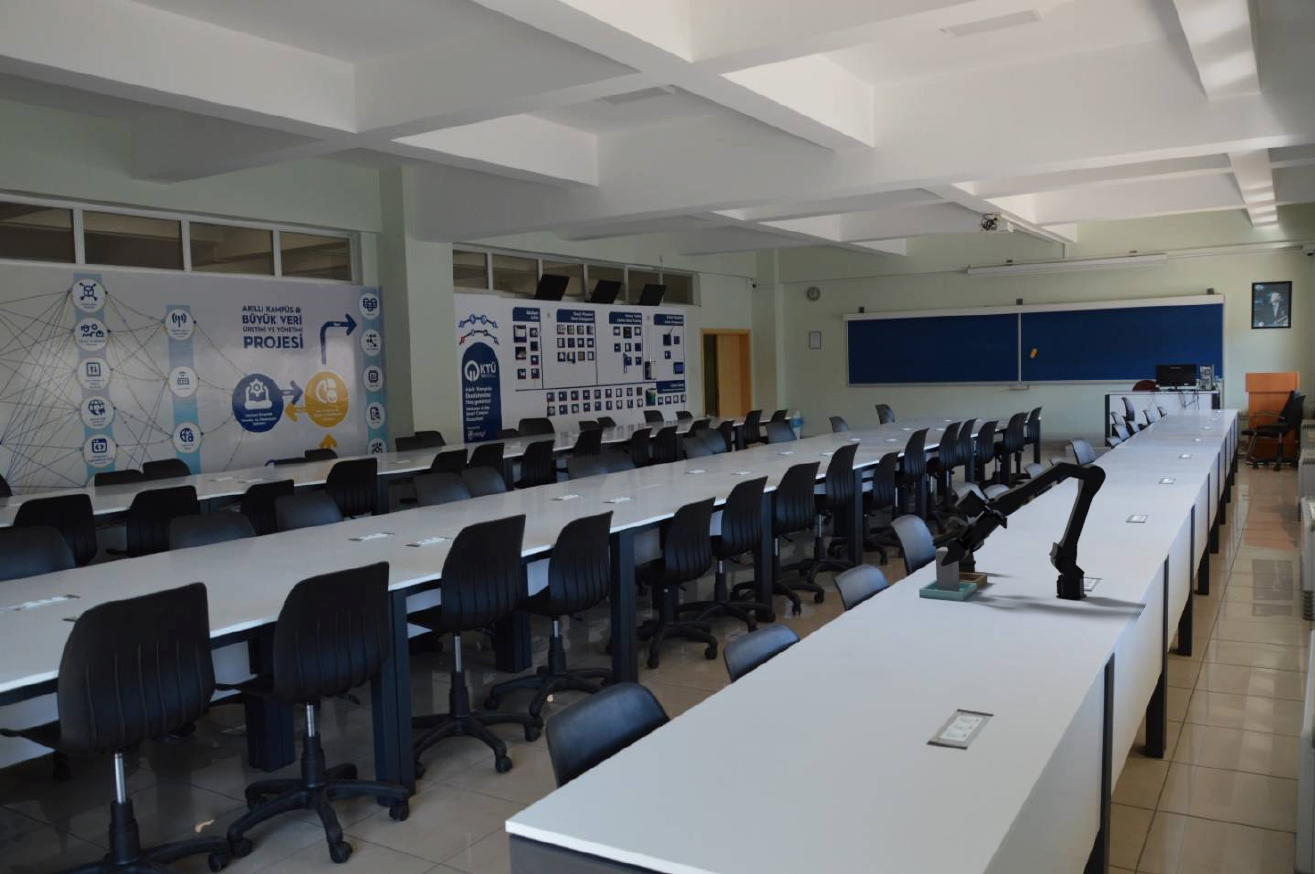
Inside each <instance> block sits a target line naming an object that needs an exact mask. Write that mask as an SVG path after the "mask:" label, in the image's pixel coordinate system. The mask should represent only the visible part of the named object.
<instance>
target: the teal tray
mask: <svg viewBox="0 0 1315 874" xmlns="http://www.w3.org/2000/svg"><path fill="white" fill-rule="evenodd" d="M977 591H978V589H977V583H966V582H959V591H958V592H954V591H942V590H937V579H936V580H932V581H930V582H929V583H927V584H926V585H924V586H922V587H921V588H918V592H919V594H918V595H919V598H924V599H936V600H947V601H958V602H964V601H965V600H967V599H968V598H969V597H970V596H972V595H973V594H975V593H976V592H977Z"/></svg>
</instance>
